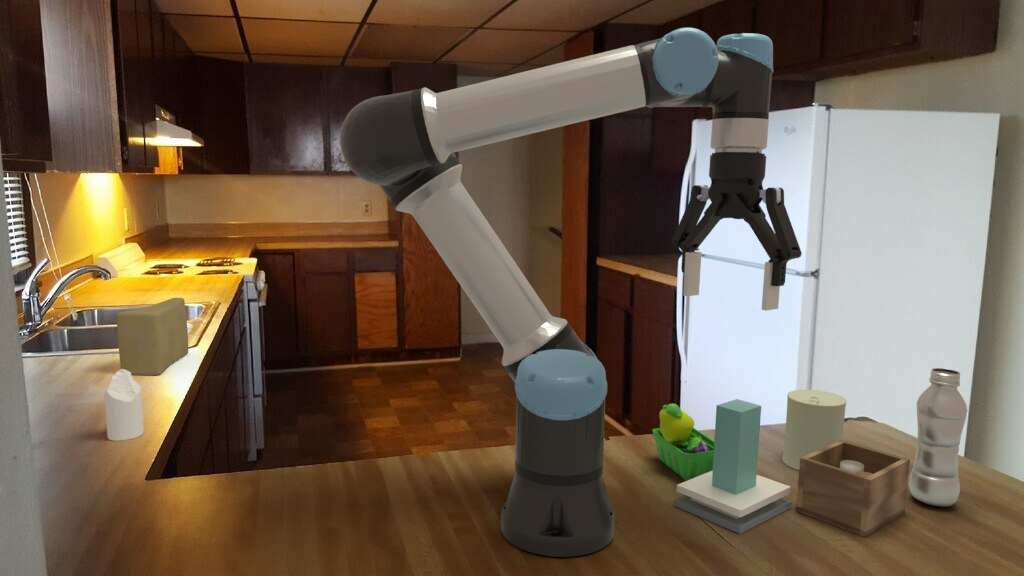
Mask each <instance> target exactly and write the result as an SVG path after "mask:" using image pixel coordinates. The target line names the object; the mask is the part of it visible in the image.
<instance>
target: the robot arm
mask: <svg viewBox="0 0 1024 576" xmlns="http://www.w3.org/2000/svg"><path fill="white" fill-rule="evenodd" d="M773 74H774V44H773V41H772V39H771V38H770V37H769V36H767V35H764V34H760V33H753V32H752V33H749V32H748V33H747V32H746V33H745V32H742V33H732V34H727V35H726V34H725V35H723V36H721V37H719V38H718V39H717V42H716V43H715V42H714V40H713V39H712V37H710V36H709V34H708V33H706V32H705V31H702V30H701V29H698V28H694V27H680V28H677V29H674V30H672V31H670V32H668V33H667V34H665V35H664V36H663V37H660V38H657V39H656V38H655V39H651V40H648V41H647V40H646V41H644V42H640V43H637V44H634V45H633V44H632V45H627V46H623V47H619V48H615V49H611V50H607V51H603V52H599V53H596V54H595V53H594V54H591V55H587V56H586V55H585V56H584V57H583V56H582V57H579V58H575V59H571V60H567V61H563V62H558V63H554V64H551V65H546V66H543V67H538V68H535V69H530V70H526V71H522V72H517V73H513V74H510V75H507V76H502V77H497V78H494V79H489V80H484V81H480V82H478V83H473V84H469V85H465V86H462V87H456V88H453V89H449V90H448V89H447V90H445V91H440V92H434V91H433V90H431V89H430V88H427V86H426V87H420V88H419V89H418V88H417V89H413V90H409V91H403V92H396V93H392V94H388V95H379V96H374V97H370V98H368V99H365V100H362V101H361V102H359V103H358V104H357V105H355V106H353V108H351V110H350V111H349V112H348V114H347V115H346V117H345V118H344V120H343V122H342V125H341V127H340V133H339V145H340V152H341V154H342V157H343V160H344V161H345V163H346V164H347V166H348V167H349V169H350V170H351V171H352V172H353V173H354V174H355V175H356V176H358V177H359V178H360V179H361V180H364V181H366V182H369V183H371V184H373V185H378V186H379V187H380V189H381V190H382V192H383V193H384V194H385V196H386V198H387V199H388V200H389V202H390V203H391V205H392V206H393V208H394V209H395V210H396V211H397V212H401V213H406V214H410V215H412V217H413V218H414V219H415V221H416V222H417V224H418V225H419V227H420V228H421V230H422V231H423V233H424V234H425V235H426V237H427V239H428V241H429V242H430V243H431V244H432V246H433V248H434V249H435V250H436V252H437V253H438V254H439V256H440V257H441V259H442V260H443V262H444V263H445V265H446V267H447V268H448V270H450V272H451V274H452V275H453V277H454V278H455V279H456V281H457V282H458V284H459V285H460V287H461V288H462V290H463V291H464V292H465V294H466V296H467V297H468V299H469V300H470V301H471V303H472V304H473V306H474V307H475V308H476V310H477V312H478V313H479V315H480V316H481V317H482V319H483V320H484V322H485V323H486V325H487V326H488V328H489V329H490V330H491V332H492V333H493V335H494V336H495V338H496V339H497V341H498V342H499V343H500V346H502V348H503V350H502V351H503V353H502V354H503V355H502V359H501V360H502V361H501V364H502V366H503V367H504V369H505V371H506V372H507V374H508V375H509V377H510V378H511V380H512V381H513V382H514V392H515V394H516V398H515V400H516V401H515V402H516V403H515V404H516V405H515V409H516V410H515V413H516V414H515V449H514V450H515V451H514V452H515V454H514V455H515V459H514V461H515V462H514V466H515V467H514V475H513V479H512V481H511V483H510V488H509V491H508V494H507V495H508V496H507V499H506V501H505V503H504V504H503V506H502V510H501V512H500V513H501V514H500V531H501V534H502V536H503V537H504V539H505V540H506V541H507V542H508V543H510V544H511V545H513V546H514V547H516V548H518V549H520V550H522V551H526V552H528V553H531V554H535V555H540V556H547V557H555V558H557V557H558V558H569V557H571V558H572V557H579V556H585V555H589V554H592V553H596V552H597V551H600V550H602V549H604V548H606V547H607V546H608V545H609V544H610V543H611V541H612V540H613V539H614V535H615V515H614V512H613V509H612V507H611V506H610V499H609V495H608V492H607V487H606V484H605V481H604V474H603V473H604V472H603V471H604V444H605V424H606V423H605V422H606V421H605V418H606V417H605V416H606V397H607V394H608V381H607V375H606V374H607V373H606V369H605V367H604V365H603V363H602V362H601V361H600V360H599V359H598V357H597V356H596V355H595V353H594V351H593V350H592V349H591V348H590V347H589V346H588V344H585V343H584V342H582V341H581V339H580V337H579V336H578V335H577V334H576V332H575V330H574V329H573V328H572V326H571V324H570V323H569V322H568V321H567V319H565V318H562V317H557V316H553V315H552V314H551V313H550V311H548V309H547V307H546V306H545V304H544V302H543V301H542V300H541V298H540V297H539V295H538V294H537V293H536V291H535V289H534V288H533V287H532V285H531V284H530V282H529V281H528V279H527V278H526V276H525V275H524V273H523V272H522V270H521V269H520V268H519V266H518V264H517V263H516V261H515V259H513V257H512V256H511V254H510V253H509V251H508V250H507V247H506V246H505V245H504V244H503V241H502V240H501V239H500V238H499V236H498V235H497V233H496V232H495V231H494V229H493V227H492V225H490V223H489V221H488V220H487V219H486V218H485V216H484V214H483V213H482V211H481V210H480V208H479V207H478V206H477V204H476V202H475V201H474V199H473V198H472V196H471V195H470V194H469V192H468V191H467V189H466V187H465V186H464V184H463V183H462V181H461V180H462V179H461V177H462V171H463V164H462V163H461V162H460V161H459V159H458V158H457V156H456V154H455V153H457V152H461V151H466V150H470V149H473V148H477V147H482V146H486V145H491V144H494V143H499V142H503V141H507V140H511V139H515V138H519V137H520V138H521V137H523V136H528V135H532V134H536V133H540V132H543V131H548V130H549V131H550V130H551V129H552V130H553V129H556V128H561V127H565V126H568V125H572V124H573V125H574V124H577V123H581V122H582V123H583V122H585V121H590V120H595V119H599V118H602V117H603V118H604V117H607V116H611V115H615V114H618V113H624V112H628V111H632V110H636V109H639V108H644V107H647V108H650V109H653V108H656V107H657V108H689V107H690V108H693V107H695V108H697V107H700V108H712V119H711V120H712V121H711V132H710V133H711V135H710V145H709V146H710V148H711V149H712V150H713V149H714V152H712V153H711V154H710V155H709V168H708V169H709V170H708V177H709V179H710V181H711V182H710V186H708V185H705V184H704V185H703V184H702V185H700V184H699V185H696V184H695V185H692V187H691V191H690V199H689V201H688V204H687V206H686V208H685V210H684V213H683V214H682V217H681V219H680V222H679V223H678V226H677V228H676V229H675V232H674V234H673V236H672V239H671V245H672V246H673V247H677V248H679V249H680V250H681V267H680V270H681V273H684V275H683V292H682V293H683V295H682V296H684V297H692V296H700V283H701V280H700V279H701V266H702V252H701V251H700V248H699V247H700V246H701V245H702V243H703V242H704V240H706V238H707V237H708V236H709V235H710V234H711V232H712V231H713V229H714V228H715V227H716V226H717V224H718V223H719V222H720V221H721V220H723V219H735V220H744V222H746V223H747V224H748V225H749V227H750V228H751V230H752V231H753V233H754V235H755V236H756V238H757V240H758V241H759V243H760V245H761V246H762V248H763V249H764V251H765V252H766V254H767V256H768V257H769V260H768V261H765V262H764V268H763V269H764V273H763V284H762V285H763V286H762V296H761V297H762V299H761V311H772V310H779V303H780V302H779V299H780V288H781V287H782V286H783V287H784V286H785V283H786V273H787V264H788V262H789V261H791V260H794V259H799V258H801V256H802V254H803V253H802V250H801V247H800V245H799V242H798V238H797V236H796V233H795V230H794V228H793V225H792V222H791V220H790V216H789V214H788V211H787V209H786V205H785V191H784V190H785V189H783V187H767V188H765V189H764V187H763V181H764V179H765V178H766V168H767V167H766V165H767V156H766V154H765V153H763V150H766V148H767V147H768V136H769V135H768V133H769V121H770V120H769V119H770V118H769V117H770V103H771V102H770V101H771V91H772V80H773ZM709 200H710V204H709V205H708V207H707V208H706V210H704V209H705V207H706V205H707V204H708V203H707V202H708V201H709ZM761 202H763V203H764V204H765V207H766V210H767V214H768V217H769V219H770V222H771V225H772V227H771V225H770V223H769V222H768V220H767V218H766V216H767V215H766V213H765V211H764V210H763V209H762V207H761V205H760V204H761ZM703 211H704V212H703ZM702 214H703V216H702ZM701 216H702V217H701Z"/></svg>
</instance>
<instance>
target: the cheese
mask: <svg viewBox="0 0 1024 576" xmlns="http://www.w3.org/2000/svg"><path fill="white" fill-rule="evenodd" d="M116 328H117V329H116V330H117V332H116V333H117V344H118V354H119V355H118V356H119V362H120V363H119V364H120V369H125V370H127V371H129V372H131V376H160V375H161V374H162V373H163V372H165V371H166V370H167V369H168V368H169V367H170V366H171V365H172V364H174V363H175V362H178V361H179V360H181V359H182V358H184V357H185V356H187V355H188V353H189V333H188V331H189V330H188V321H187V314H186V303H185V298H183V297H172V298H169V299H166V300H163V301H161V302H158V303H155V304H151V305H149V306H146V307H141V308H136V309H131V310H125V311H121V312H118V313H117V314H116Z"/></svg>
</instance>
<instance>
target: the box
mask: <svg viewBox="0 0 1024 576" xmlns="http://www.w3.org/2000/svg"><path fill="white" fill-rule="evenodd" d="M910 462H911V460H910V458H906V457H902V456H899V455H896V454H892V453H889V452H884V451H881V450H878V449H875V448H871V447H868V446H864V445H860V444H857V443H853V442H850V441H846V440H843V439H842V440H840V441H838V442H835V443H833V444H831V445H829V446H826V447H824V448H822V449H819V450H817V451H815V452H813V453H810V454H808V455H806V456H803V457H801V458H800V466H799V470H798V478H797V479H798V480H797V494H796V506H795V511H796V512H797V513H800V514H803V515H805V516H808V517H810V518H814V519H816V520H818V521H822V523H823V522H824V523H826V524H830V525H831V526H834V527H838V528H840V529H843V530H845V531H847V532H850V533H853V534H855V535H858V536H861V537H863V538H867V537H869V536H870V535H871V534H873V533H875V532H876V531H878V530H880V529H881V528H883V527H885V526H887V525H888V524H889V523H891V522H892V521H894V520H895V519H896V520H897V518H898V517H901V516H902V515H903V514H905V512H906V505H907V503H906V501H907V495H908V494H907V492H908V485H909V472H910Z"/></svg>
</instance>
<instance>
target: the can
mask: <svg viewBox="0 0 1024 576" xmlns="http://www.w3.org/2000/svg"><path fill="white" fill-rule="evenodd" d="M786 396H787V397H786V399H787V402H786V403H787V404H786V417H785V431H784V432H785V435H784V444H783V445H784V447H783V454H782V458H781V459H782V462H783V464H785V465H786V466H788V467H789V468H790V469H794V470H797V471H799V466H800V458H801V457H803V456H806V455H808V454H810V453H813V452H815V451H817V450H819V449H822V448H824V447H826V446H829V445H831V444H833V443H835V442H838V441H840V440H843V438H844V437H843V435H844V424H845V414H846V407H847V406H846V405H847V399H846V398H844V397H843V396H842V395H839V394H836V393H833V392H829V391H828V392H827V391H824V390H818V389H817V390H815V389H795V390H791V391H789V392H787V395H786Z"/></svg>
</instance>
